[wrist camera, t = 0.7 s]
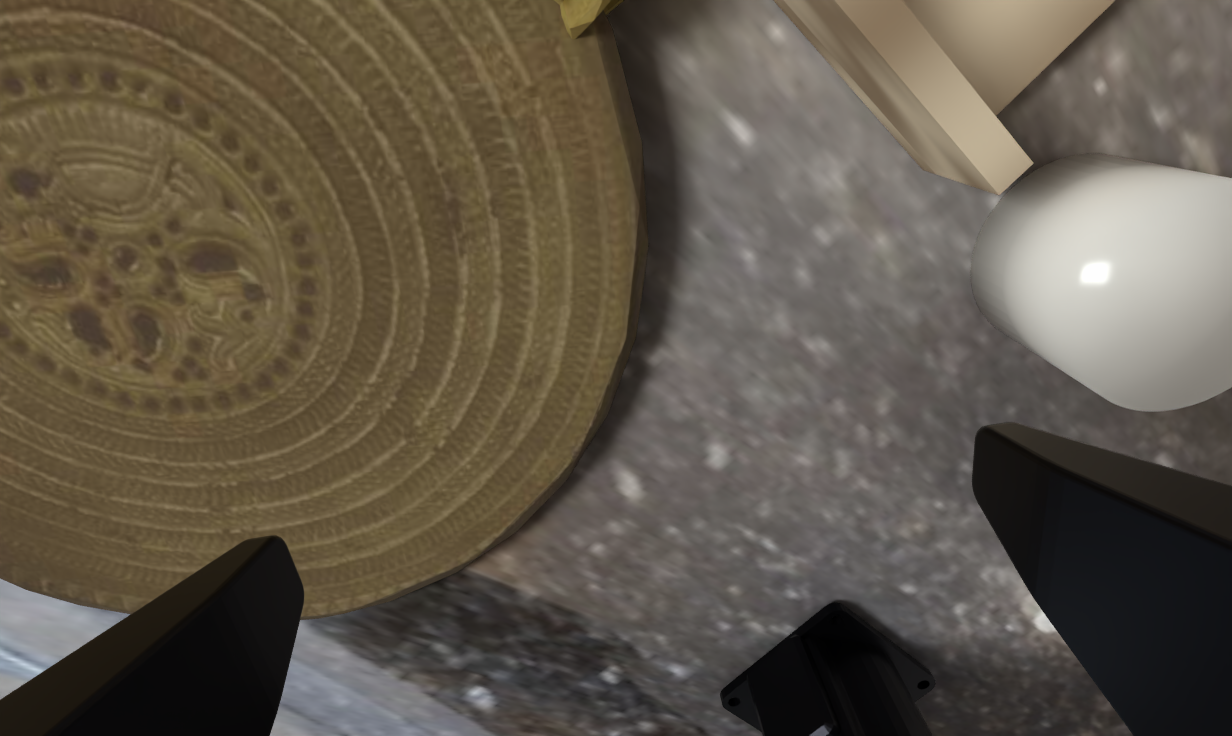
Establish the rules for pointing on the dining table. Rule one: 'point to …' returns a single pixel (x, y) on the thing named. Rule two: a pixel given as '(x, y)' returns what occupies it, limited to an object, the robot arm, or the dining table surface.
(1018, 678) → the dining table surface
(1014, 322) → the white rounded cylinder
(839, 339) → the dining table surface
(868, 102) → the dish rack
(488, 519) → the decorative disc
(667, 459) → the dining table surface
